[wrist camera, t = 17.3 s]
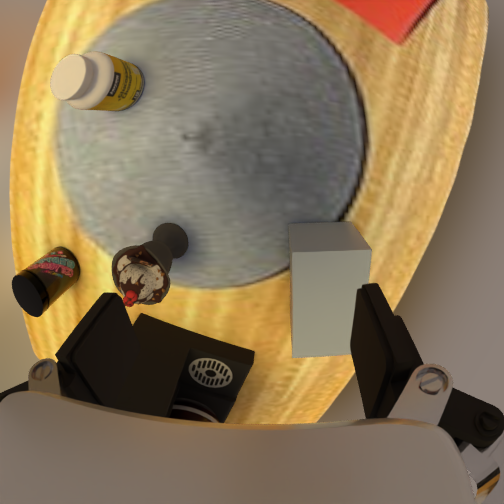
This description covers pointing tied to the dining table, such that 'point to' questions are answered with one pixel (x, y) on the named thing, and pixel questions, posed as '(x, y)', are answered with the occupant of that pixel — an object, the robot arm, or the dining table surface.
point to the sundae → (148, 266)
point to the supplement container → (45, 281)
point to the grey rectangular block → (325, 285)
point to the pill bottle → (96, 82)
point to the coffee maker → (183, 374)
